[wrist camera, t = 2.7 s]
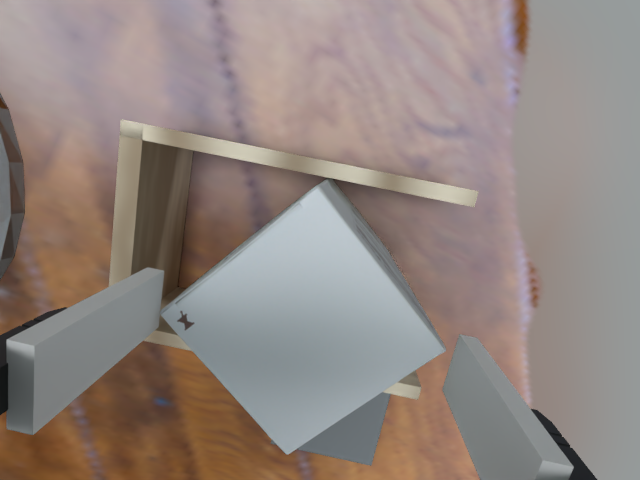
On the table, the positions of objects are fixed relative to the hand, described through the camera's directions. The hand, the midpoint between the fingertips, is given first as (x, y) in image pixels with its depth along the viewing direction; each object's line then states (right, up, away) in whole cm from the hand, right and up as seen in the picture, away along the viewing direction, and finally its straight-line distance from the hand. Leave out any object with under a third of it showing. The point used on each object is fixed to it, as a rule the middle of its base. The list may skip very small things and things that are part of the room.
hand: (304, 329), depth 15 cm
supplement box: (+1, +3, +16) cm, 17 cm away
